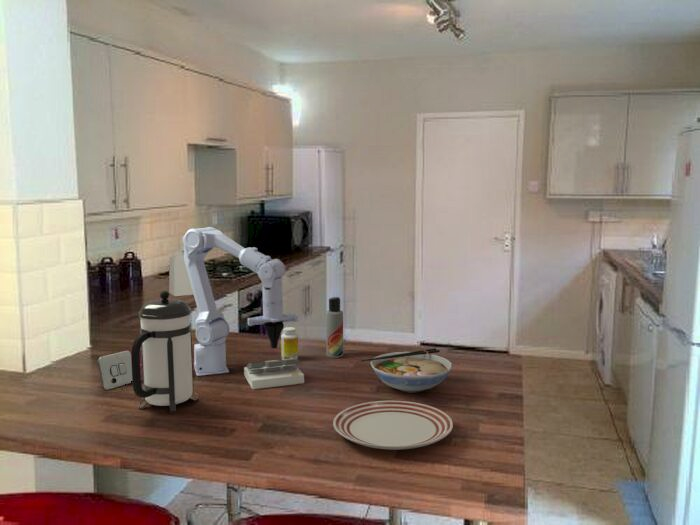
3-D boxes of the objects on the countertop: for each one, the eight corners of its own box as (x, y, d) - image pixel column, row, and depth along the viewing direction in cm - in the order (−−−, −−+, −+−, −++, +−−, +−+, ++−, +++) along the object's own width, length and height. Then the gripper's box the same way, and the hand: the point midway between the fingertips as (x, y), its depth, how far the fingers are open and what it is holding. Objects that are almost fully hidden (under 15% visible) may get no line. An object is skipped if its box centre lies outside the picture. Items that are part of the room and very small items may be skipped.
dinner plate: (308, 432, 133) (308, 419, 133) (387, 402, 152) (388, 390, 152) (398, 474, 114) (398, 458, 113) (476, 434, 133) (477, 420, 132)
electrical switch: (105, 391, 160) (102, 358, 159) (96, 388, 163) (93, 356, 163) (136, 382, 167) (133, 350, 167) (127, 380, 170) (124, 349, 170)
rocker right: (286, 365, 167) (285, 359, 167) (280, 364, 174) (280, 359, 174) (299, 364, 169) (298, 358, 169) (293, 363, 175) (293, 358, 175)
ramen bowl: (388, 409, 147) (388, 378, 146) (354, 381, 168) (354, 354, 167) (471, 396, 156) (472, 366, 155) (429, 371, 177) (429, 345, 176)
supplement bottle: (301, 359, 189) (301, 328, 188) (287, 362, 186) (286, 331, 185) (292, 355, 194) (291, 325, 192) (278, 358, 190) (277, 328, 189)
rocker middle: (269, 367, 165) (268, 361, 166) (264, 366, 172) (263, 361, 172) (282, 365, 167) (282, 360, 167) (277, 365, 173) (277, 359, 174)
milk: (196, 294, 304) (195, 245, 301) (174, 296, 298) (172, 246, 295) (190, 290, 314) (189, 243, 311) (169, 292, 308) (167, 244, 305)
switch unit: (252, 389, 161) (252, 377, 161) (244, 375, 173) (244, 363, 173) (304, 383, 166) (304, 371, 166) (292, 369, 178) (292, 358, 178)
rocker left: (251, 368, 164) (251, 362, 164) (247, 369, 170) (247, 364, 171) (265, 366, 165) (265, 360, 165) (261, 368, 172) (260, 362, 172)
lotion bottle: (341, 358, 190) (341, 299, 187) (324, 357, 191) (324, 298, 188) (344, 354, 195) (344, 296, 193) (328, 353, 196) (328, 295, 194)
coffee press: (134, 398, 154) (128, 288, 150) (195, 391, 160) (191, 284, 156) (134, 423, 138) (128, 300, 134) (202, 413, 144) (198, 295, 140)
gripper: (250, 306, 161) (251, 353, 162) (300, 302, 165) (301, 348, 167) (245, 301, 167) (247, 347, 169) (294, 298, 172) (295, 342, 174)
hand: (273, 347), depth 168 cm, fingers closed
